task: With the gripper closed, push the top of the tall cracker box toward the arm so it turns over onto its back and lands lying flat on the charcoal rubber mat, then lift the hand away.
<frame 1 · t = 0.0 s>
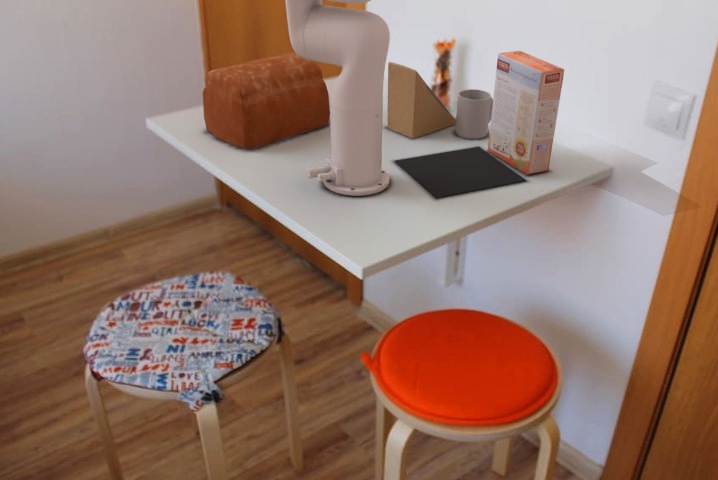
cup: (475, 133, 162), on the table
bread: (269, 128, 160), on the table
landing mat: (459, 171, 144), on the table
cracker box: (517, 161, 150), on the table
sandwich container: (423, 126, 165), on the table
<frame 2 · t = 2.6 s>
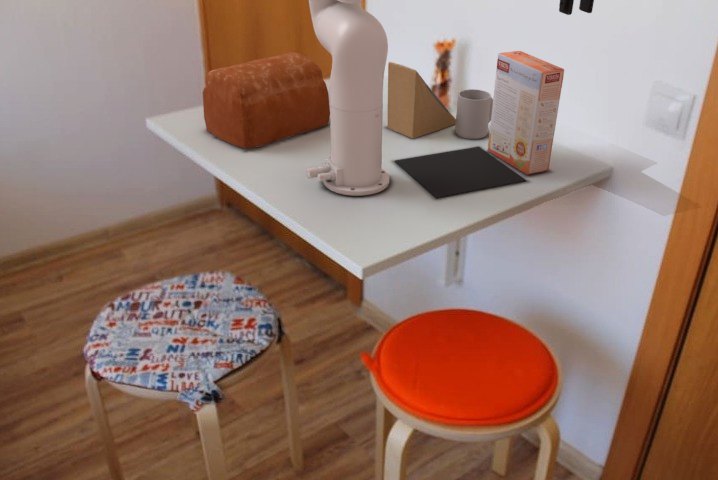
hand: (575, 11, 137), 29 cm above the table, tool pointing down, fingers open, 4 cm apart
nothing on the table moved.
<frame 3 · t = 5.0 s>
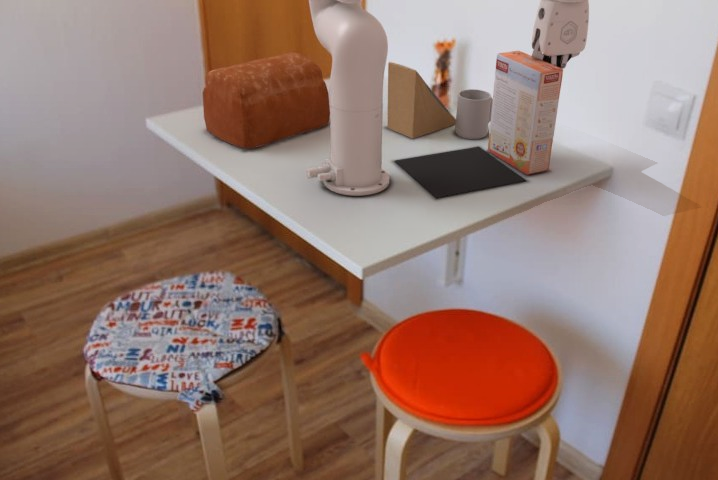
hand: (551, 87, 144), 15 cm above the table, tool pointing down, fingers closed
cracker box: (517, 161, 150), on the table, touching gripper
everything else where it was.
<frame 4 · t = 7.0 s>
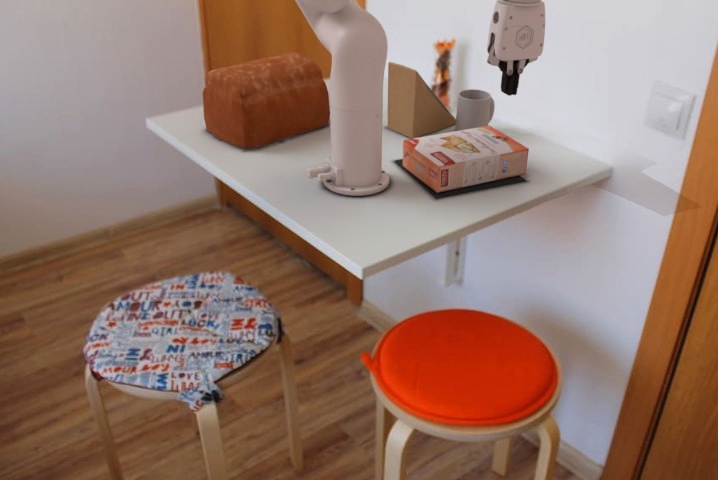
hand: (508, 92, 140), 15 cm above the table, tool pointing down, fingers closed
cracker box: (508, 147, 147), point 3 cm above the table, touching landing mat
everything else where it was.
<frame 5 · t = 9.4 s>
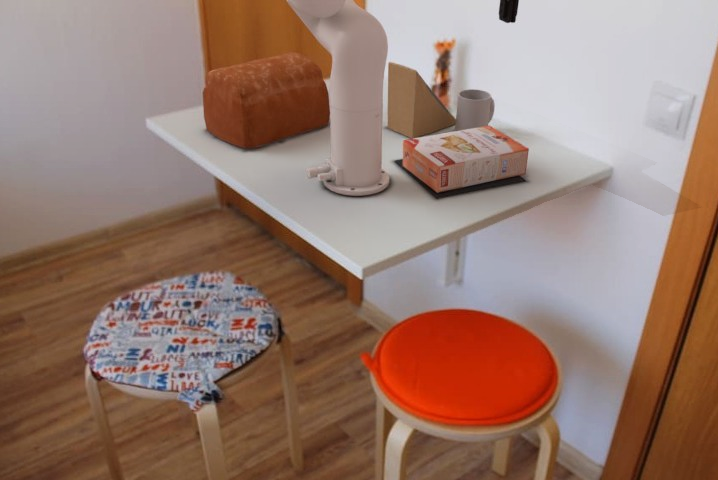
hand: (506, 20, 133), 28 cm above the table, tool pointing down, fingers closed
nothing on the table moved.
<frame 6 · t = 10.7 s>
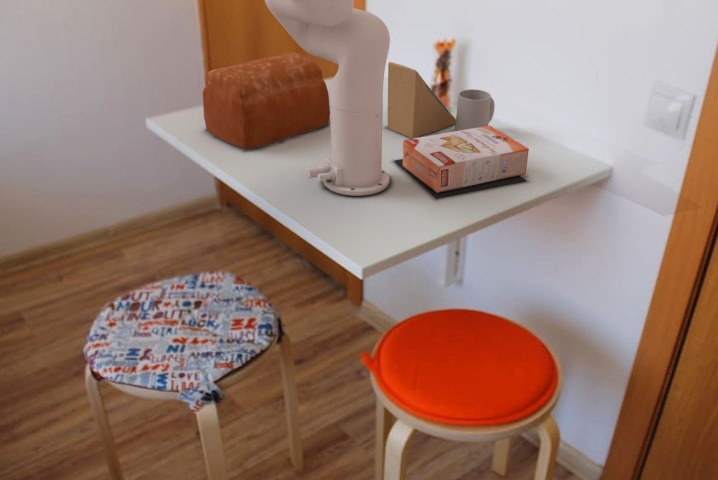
nothing on the table moved.
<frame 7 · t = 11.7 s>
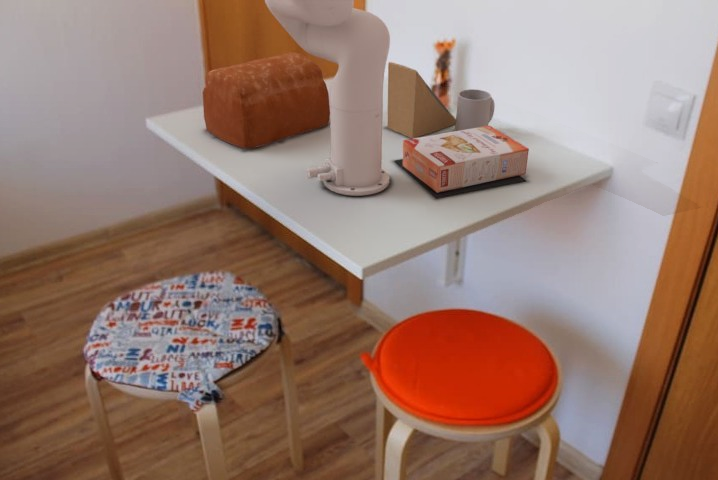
nothing on the table moved.
at the end: cracker box tilted 91°; cracker box touching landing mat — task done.
